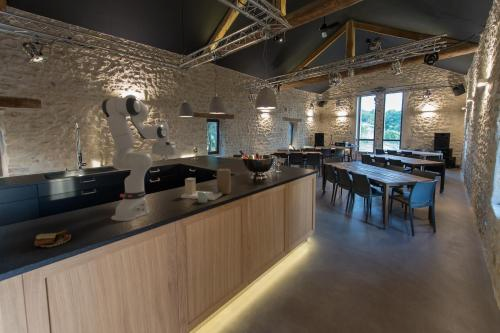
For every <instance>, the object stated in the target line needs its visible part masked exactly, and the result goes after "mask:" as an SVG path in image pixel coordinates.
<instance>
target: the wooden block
mask: <svg viewBox="0 0 500 333" xmlns="http://www.w3.org/2000/svg"><path fill="white" fill-rule="evenodd" d="M231 174H232V173H231V168H218V169H217V170H216V187H219V192H220V193H222V195H229V194H230V193H231V191H232V184H231V183H232V180H231V179H232V178H231V177H232V176H231Z"/></svg>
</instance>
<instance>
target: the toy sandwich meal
mask: <svg viewBox="0 0 500 333" xmlns="http://www.w3.org/2000/svg"><path fill="white" fill-rule="evenodd" d="M66 232H67V230H66V229H65V230H62V231H59V232H53V233H40V234H37V235H36V236H35V240H34V243H33V245H34V246H35V247H41V248H44V247H47V248H53V246H54V247H58V246H61V245H64V244H66V243H68V242H69V241H70V240H71V239H72V234H66ZM67 241H68V242H67ZM65 242H66V243H65ZM63 243H64V244H63ZM60 244H61V245H60ZM57 245H58V246H57Z"/></svg>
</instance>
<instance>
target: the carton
mask: <svg viewBox="0 0 500 333" xmlns="http://www.w3.org/2000/svg"><path fill="white" fill-rule="evenodd" d="M196 181H197V180H196V177H188V178H185V179H184V188H185V189H184V190H185V193H186V194H194V193H196V191H197V188H196V184H197V183H196Z"/></svg>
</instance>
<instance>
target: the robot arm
mask: <svg viewBox="0 0 500 333" xmlns="http://www.w3.org/2000/svg"><path fill="white" fill-rule="evenodd" d="M101 110H102V112H103V115H105V117H106V118H107V127H108V130H109V133H110V134H111V135H110V136H111V137H112V140H113V143H114V146H115V154H113V156H112V159H111V160H112V165H113V166H114V167H115V168H117V169H121V170H130V174H129V175H128V176H127V177H125V179H124V193H120V195H119V197H120V198H122V200H121V201H120V203H119V204H118V205H117V206H116V207H115V212H114V215H112V216H111V220H113V221H118V222H119V221H121V222H128V221H129V222H130V221H132V220H135V219H138V218H140V217H143V216H146V215H148V214H150V210H149V208H148V202H147V199H146V190H145V176H146V173H147V172H148V170H149V169H151V167H152V166H153V162H154V161H153V157H152V155H160V157H161V161H167V160H168V156H174V155H175V156H176V155H177V152H178V151H177V146H176V142H175V141H172V140H170V137H169V134H170V128H169V124H168V122H166V121H157V123H156V125H144V123H143V122H145V121H146V120H147V119H148V118H149V108H148V107H147V106H146V105H145V104H144V103H143V101H141V100H140V99H139V98H138V97H137V96H136V95H133V94H128V95H125V96H124V97H113V98H107V99H104V100H103V101H102V104H101ZM128 117H129V118H130V121H131V123H132V125H133V126H134V128H135V129H136V131H137V132H138V134H139V136H140V138H141V139H143V140H155V139H156V140H157V142H152V144H151V154H152V155H151V154H150V153H146V152H142V151H140V152H139V151H135V152H134V151H133V150H132V147H134V146H135V143H136V139H135V136H134V133H133V131H132V128H131V126H130V124H129V122H128V120H127V118H128Z"/></svg>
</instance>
